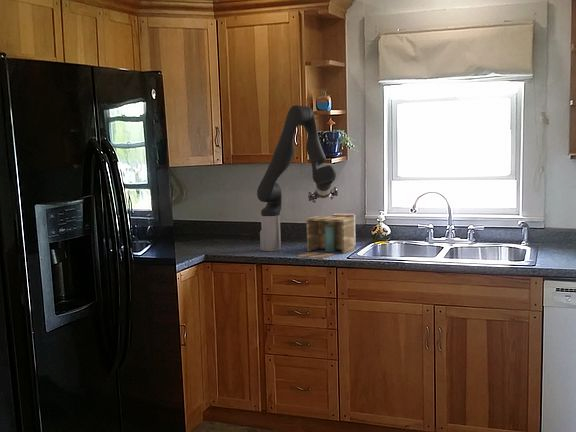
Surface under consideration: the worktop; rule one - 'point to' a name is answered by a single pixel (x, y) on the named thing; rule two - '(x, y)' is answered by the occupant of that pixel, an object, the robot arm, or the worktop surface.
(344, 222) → the cubby
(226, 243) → the worktop surface
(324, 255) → the trivet
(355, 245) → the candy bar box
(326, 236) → the tin
